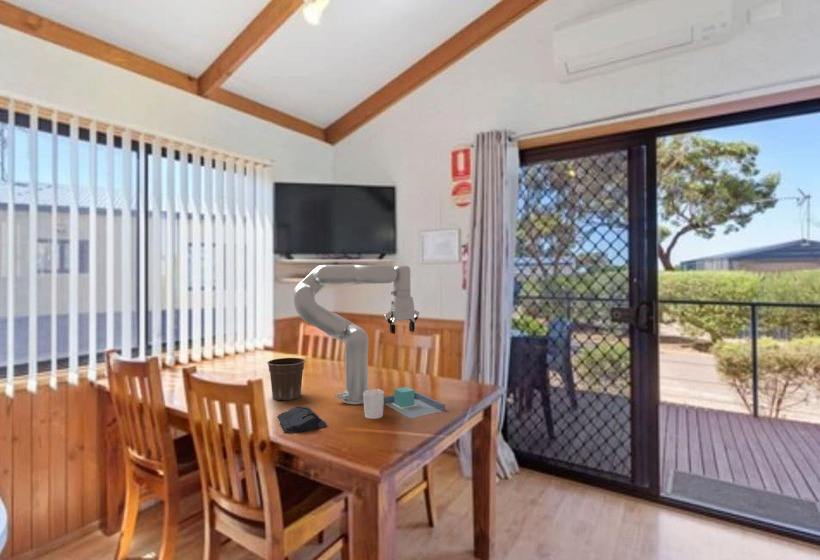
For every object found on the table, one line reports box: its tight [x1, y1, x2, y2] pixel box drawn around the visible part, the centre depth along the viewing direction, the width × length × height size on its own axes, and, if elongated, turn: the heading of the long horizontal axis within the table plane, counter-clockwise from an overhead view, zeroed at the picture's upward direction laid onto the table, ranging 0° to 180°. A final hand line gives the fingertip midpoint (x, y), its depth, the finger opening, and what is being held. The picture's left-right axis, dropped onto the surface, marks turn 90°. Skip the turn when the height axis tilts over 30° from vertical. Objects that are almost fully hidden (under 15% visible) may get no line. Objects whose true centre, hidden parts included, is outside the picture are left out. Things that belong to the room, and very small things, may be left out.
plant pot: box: [266, 357, 306, 401], centre depth 199 cm, size 16×16×16 cm
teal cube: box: [393, 386, 415, 407], centre depth 182 cm, size 6×6×6 cm
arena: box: [384, 390, 446, 419], centre depth 180 cm, size 16×22×4 cm
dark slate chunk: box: [276, 406, 328, 435], centre depth 166 cm, size 15×22×5 cm
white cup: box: [363, 388, 385, 420], centre depth 170 cm, size 8×8×10 cm
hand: (402, 332), depth 198 cm, fingers open, 9 cm apart
